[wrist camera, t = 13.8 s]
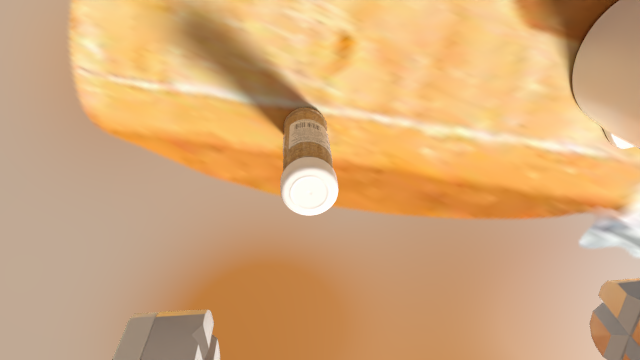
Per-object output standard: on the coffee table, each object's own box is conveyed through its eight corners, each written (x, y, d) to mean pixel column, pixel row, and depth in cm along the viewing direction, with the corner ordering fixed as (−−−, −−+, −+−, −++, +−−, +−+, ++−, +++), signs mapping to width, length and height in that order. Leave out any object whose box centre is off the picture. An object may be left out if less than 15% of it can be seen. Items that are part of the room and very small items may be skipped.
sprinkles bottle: (277, 138, 48) (272, 208, 36) (292, 99, 46) (292, 159, 34) (318, 152, 49) (325, 224, 37) (334, 114, 47) (348, 178, 35)
